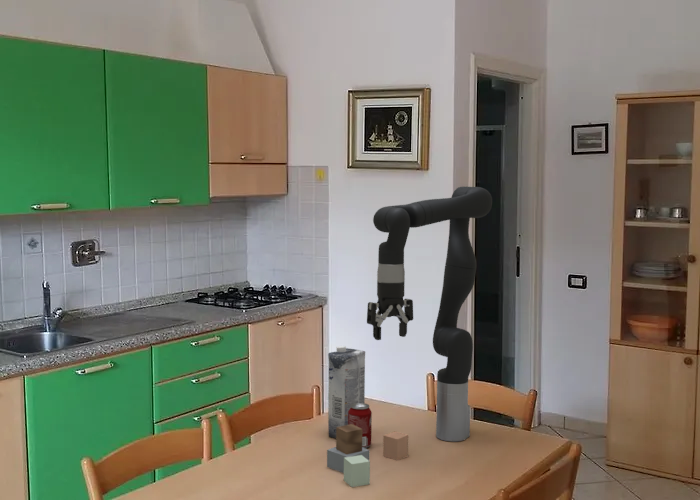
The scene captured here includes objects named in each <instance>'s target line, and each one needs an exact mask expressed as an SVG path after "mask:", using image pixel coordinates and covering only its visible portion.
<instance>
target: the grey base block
mask: <svg viewBox="0 0 700 500" xmlns="http://www.w3.org/2000/svg"><path fill="white" fill-rule="evenodd" d="M359 455H362V456H364V457H365V458H366V459H367V460H369V461H370V449H367V448H362V451H360V452H355V453H351V454H345V453H343V452H341V451H339V450H337V449H336V446H335V447H331V448H327V449H326V467H327V468H329V469H331V470H334V471H337V472H340V473H342V474H344V458H345V457H352V456H359Z"/></svg>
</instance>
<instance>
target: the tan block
mask: <svg viewBox="0 0 700 500" xmlns="http://www.w3.org/2000/svg"><path fill="white" fill-rule="evenodd" d="M382 436H383V437H382V440H383V442H382V444H383V445H382V457H384V458H388V459H391V460H394V461H399V460H402V459H404V458H406V457H408V456H409V436H410V435H409V434H406V433H403V432H398V431H390V432H389V433H386V434H383V435H382Z"/></svg>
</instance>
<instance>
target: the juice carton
mask: <svg viewBox="0 0 700 500" xmlns="http://www.w3.org/2000/svg"><path fill="white" fill-rule="evenodd" d="M327 353H328V352H327ZM327 356H328V393H327V394H328V397H327V398H328V399H327V400H328V403H327V404H328V406H327V408H328V417H327V419H328V420H327V423H328V426H327V427H328V430H327V431H328V437H329V438H332V439H336V427H340V426H345V425H348V411H349V409H350V408H351V407H350V405H351V404H354V403H365V401H366V400H365V394H366V393H365V391H366V390H365V387H366V380H365V378H366V377H365V376H366V351H365V350H361V349H355V348H348V347H347V346H346V345H339V346H336V351H331V352H329V353H328V354H327Z"/></svg>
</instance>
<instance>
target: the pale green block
mask: <svg viewBox="0 0 700 500" xmlns="http://www.w3.org/2000/svg"><path fill="white" fill-rule="evenodd" d="M370 478H371V461H370V459H369V460H367V459H366V458H365V457H364V456H362V455H359V456H352V457H345V458H344V473H343V481H344V482H345V483H346V484H348V485H349V486H350V487H351V488H355V487H362V486H369V485H370V483H371V482H370V481H371V479H370Z"/></svg>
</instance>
